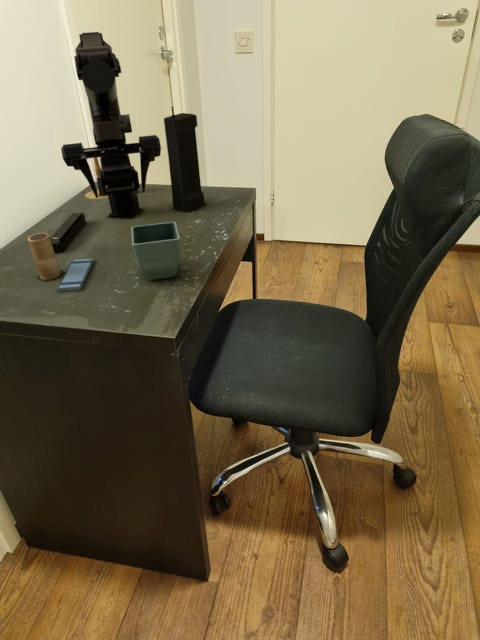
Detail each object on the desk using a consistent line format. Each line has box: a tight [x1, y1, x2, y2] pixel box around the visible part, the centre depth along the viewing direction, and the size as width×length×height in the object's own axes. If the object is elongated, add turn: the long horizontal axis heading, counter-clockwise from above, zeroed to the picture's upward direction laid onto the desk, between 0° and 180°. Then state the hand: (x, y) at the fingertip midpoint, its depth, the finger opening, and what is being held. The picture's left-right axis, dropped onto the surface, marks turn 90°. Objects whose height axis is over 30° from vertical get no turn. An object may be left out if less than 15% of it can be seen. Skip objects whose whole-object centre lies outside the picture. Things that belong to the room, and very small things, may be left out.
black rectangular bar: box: [50, 212, 86, 253], centre depth 111 cm, size 18×3×3 cm, turn 178°
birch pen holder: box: [27, 232, 61, 281], centre depth 93 cm, size 4×4×8 cm
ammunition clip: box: [92, 154, 138, 197], centre depth 133 cm, size 11×2×12 cm, turn 93°
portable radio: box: [163, 106, 205, 212], centre depth 118 cm, size 8×6×25 cm
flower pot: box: [130, 221, 181, 281], centre depth 91 cm, size 9×9×9 cm
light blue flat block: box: [58, 258, 94, 292], centre depth 95 cm, size 4×12×1 cm, turn 3°
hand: (120, 194), depth 94 cm, fingers open, 9 cm apart
